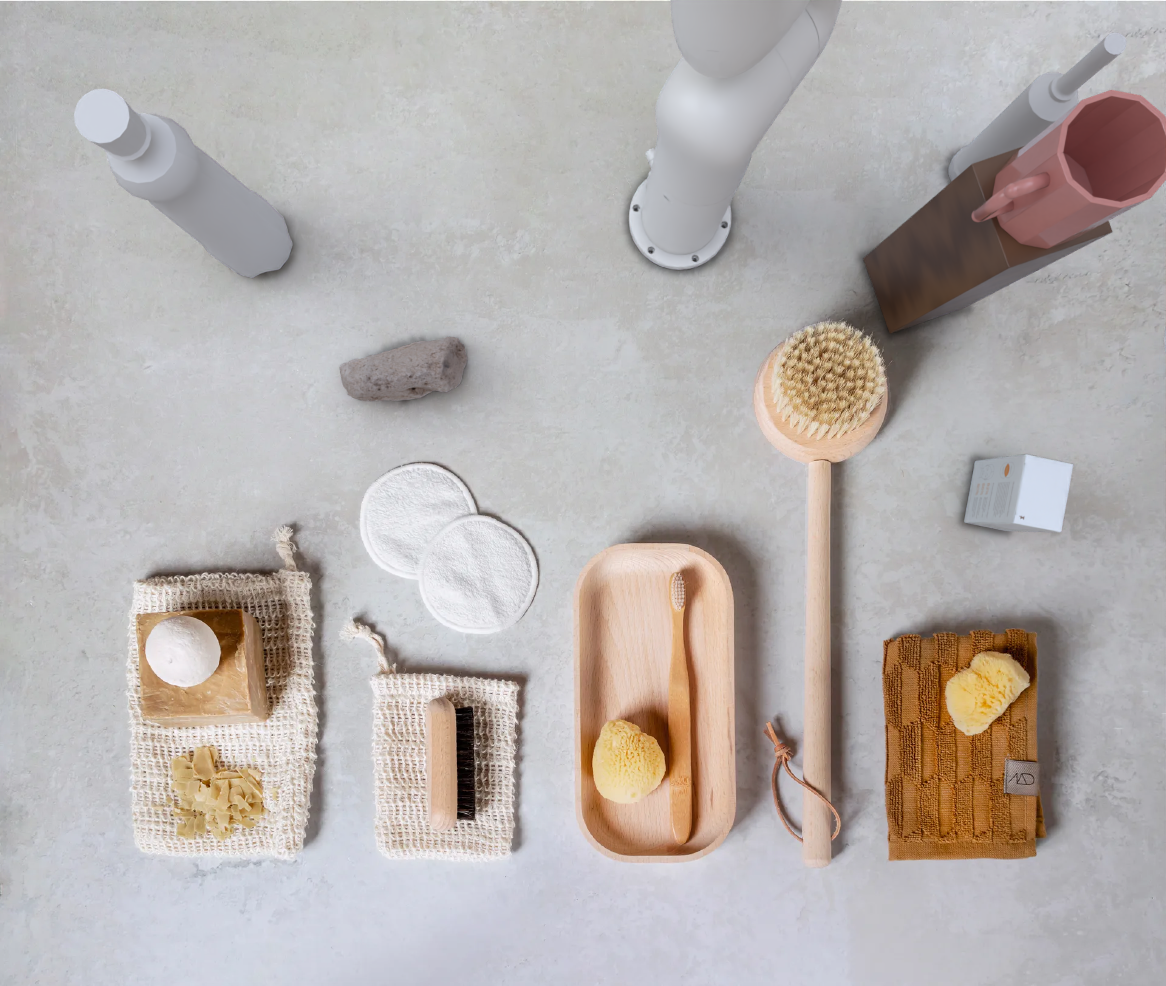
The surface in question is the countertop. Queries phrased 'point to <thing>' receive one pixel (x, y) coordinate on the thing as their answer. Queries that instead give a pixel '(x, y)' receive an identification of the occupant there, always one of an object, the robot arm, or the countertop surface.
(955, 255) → the stand
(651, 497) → the countertop surface
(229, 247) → the bottle
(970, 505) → the small box
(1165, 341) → the supplement bottle
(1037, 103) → the bottle
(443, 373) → the pumice stone
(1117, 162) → the pink octagonal mug
